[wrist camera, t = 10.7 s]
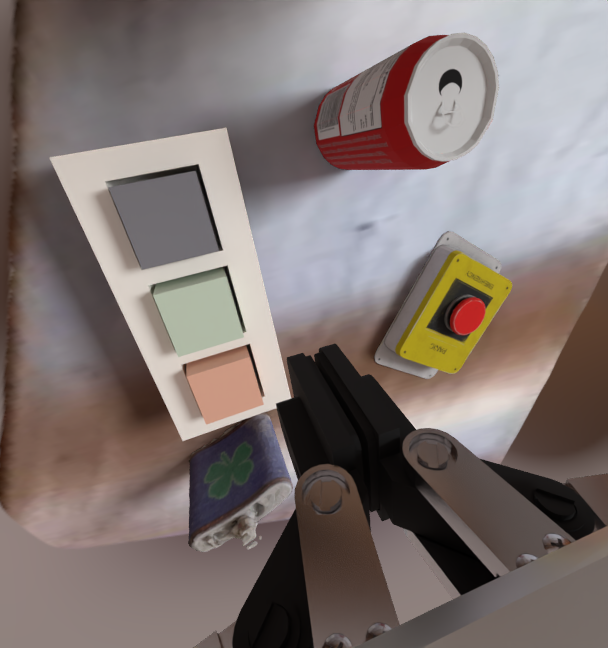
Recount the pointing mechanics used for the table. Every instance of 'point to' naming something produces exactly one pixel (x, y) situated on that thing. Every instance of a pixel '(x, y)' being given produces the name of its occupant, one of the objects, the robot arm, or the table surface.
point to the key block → (138, 285)
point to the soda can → (411, 107)
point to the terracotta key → (224, 384)
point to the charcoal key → (165, 218)
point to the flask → (236, 484)
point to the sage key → (198, 311)
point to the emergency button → (445, 310)
